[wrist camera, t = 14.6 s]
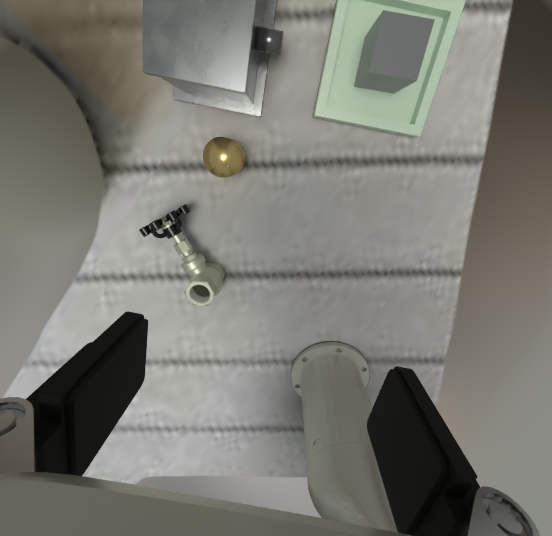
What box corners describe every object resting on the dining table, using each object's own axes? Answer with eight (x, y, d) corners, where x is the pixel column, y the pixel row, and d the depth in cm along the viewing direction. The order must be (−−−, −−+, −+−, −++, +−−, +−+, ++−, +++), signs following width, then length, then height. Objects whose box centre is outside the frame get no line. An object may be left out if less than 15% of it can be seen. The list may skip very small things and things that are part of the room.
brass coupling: (244, 176, 36) (238, 180, 31) (212, 171, 36) (201, 173, 31) (248, 142, 34) (242, 140, 30) (215, 136, 34) (204, 133, 30)
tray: (412, 137, 34) (419, 136, 32) (312, 117, 33) (314, 115, 31) (454, 10, 29) (465, 0, 27) (339, -15, 29) (343, -27, 27)
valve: (239, 275, 41) (193, 200, 37) (231, 297, 35) (175, 209, 31) (201, 293, 42) (153, 222, 39) (186, 317, 36) (128, 235, 32)
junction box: (272, 119, 33) (267, 106, 24) (175, 99, 33) (134, 79, 24) (292, -12, 29) (296, -86, 20) (180, -36, 28) (133, -123, 20)
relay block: (393, 93, 32) (417, 80, 26) (353, 86, 31) (368, 72, 26) (407, 42, 30) (435, 17, 24) (365, 35, 30) (383, 7, 24)
